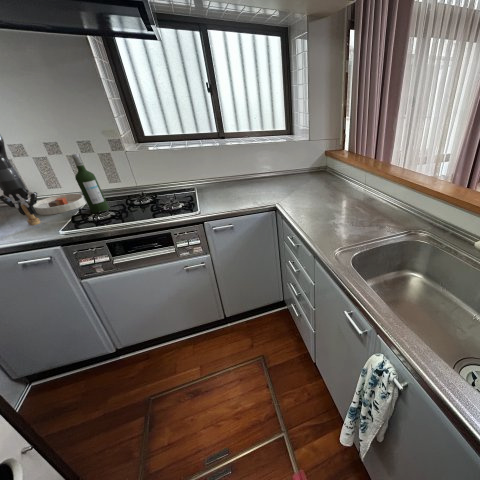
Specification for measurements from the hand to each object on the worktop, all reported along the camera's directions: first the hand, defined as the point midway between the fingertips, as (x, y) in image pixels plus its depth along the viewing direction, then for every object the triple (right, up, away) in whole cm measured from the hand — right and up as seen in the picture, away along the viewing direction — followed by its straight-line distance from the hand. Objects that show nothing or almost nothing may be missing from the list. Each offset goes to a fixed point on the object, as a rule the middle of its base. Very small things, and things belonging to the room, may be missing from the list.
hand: (29, 214), depth 125 cm
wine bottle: (+17, +4, +20) cm, 27 cm away
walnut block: (-9, +6, +22) cm, 24 cm away
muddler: (0, -4, +3) cm, 5 cm away
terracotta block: (-9, +8, +26) cm, 28 cm away
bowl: (-7, +6, +23) cm, 25 cm away
